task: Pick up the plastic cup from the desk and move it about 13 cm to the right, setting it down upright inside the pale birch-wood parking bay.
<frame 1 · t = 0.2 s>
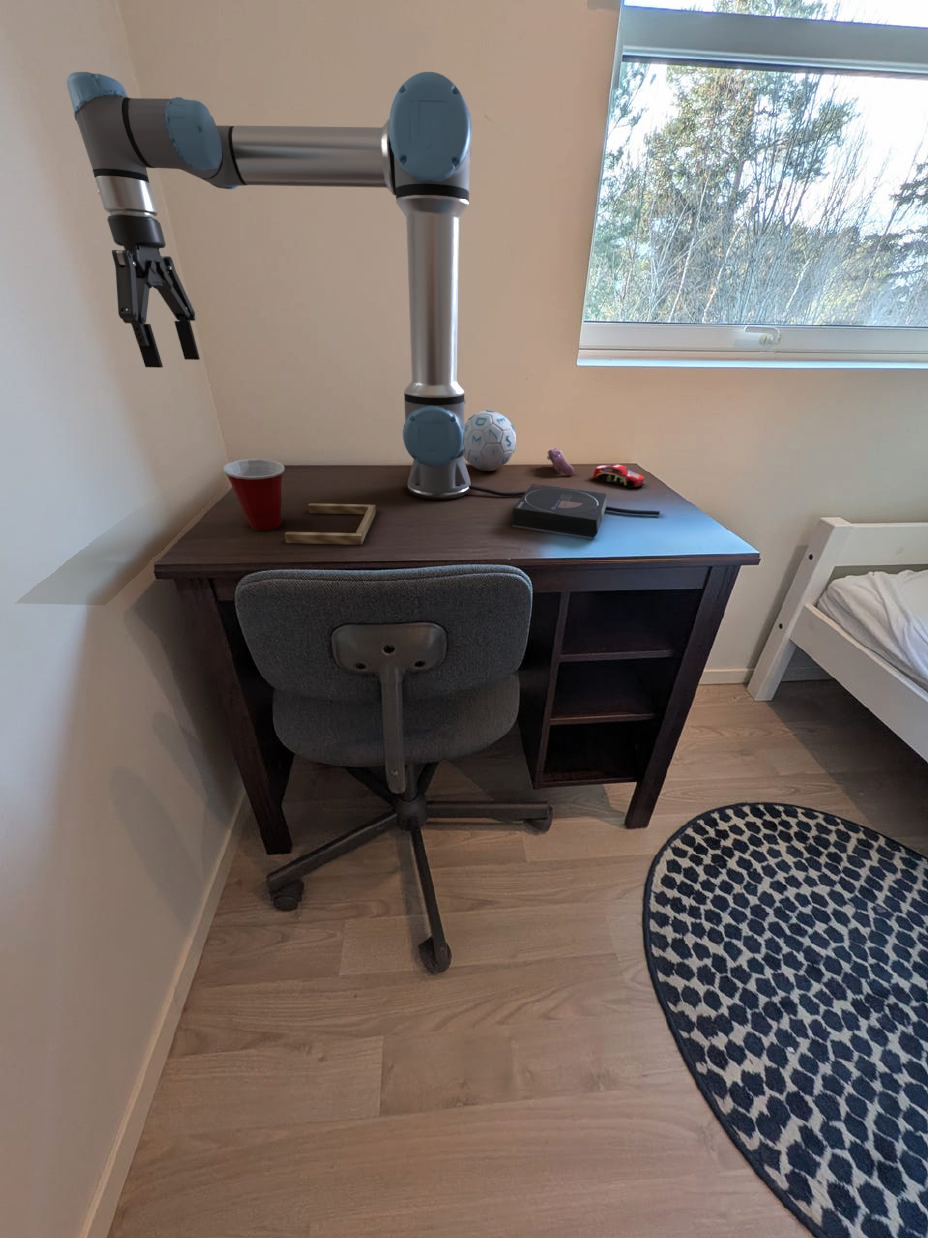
hand: (174, 363, 90), 28 cm above the table, tool pointing down, fingers open, 13 cm apart
race car: (617, 483, 124), on the table
puzzle ball: (486, 470, 131), on the table
portable cd player: (560, 519, 102), on the table
purple animal figurine: (558, 471, 131), on the table
plastic cup: (267, 526, 96), on the table
parking bay: (331, 526, 96), on the table
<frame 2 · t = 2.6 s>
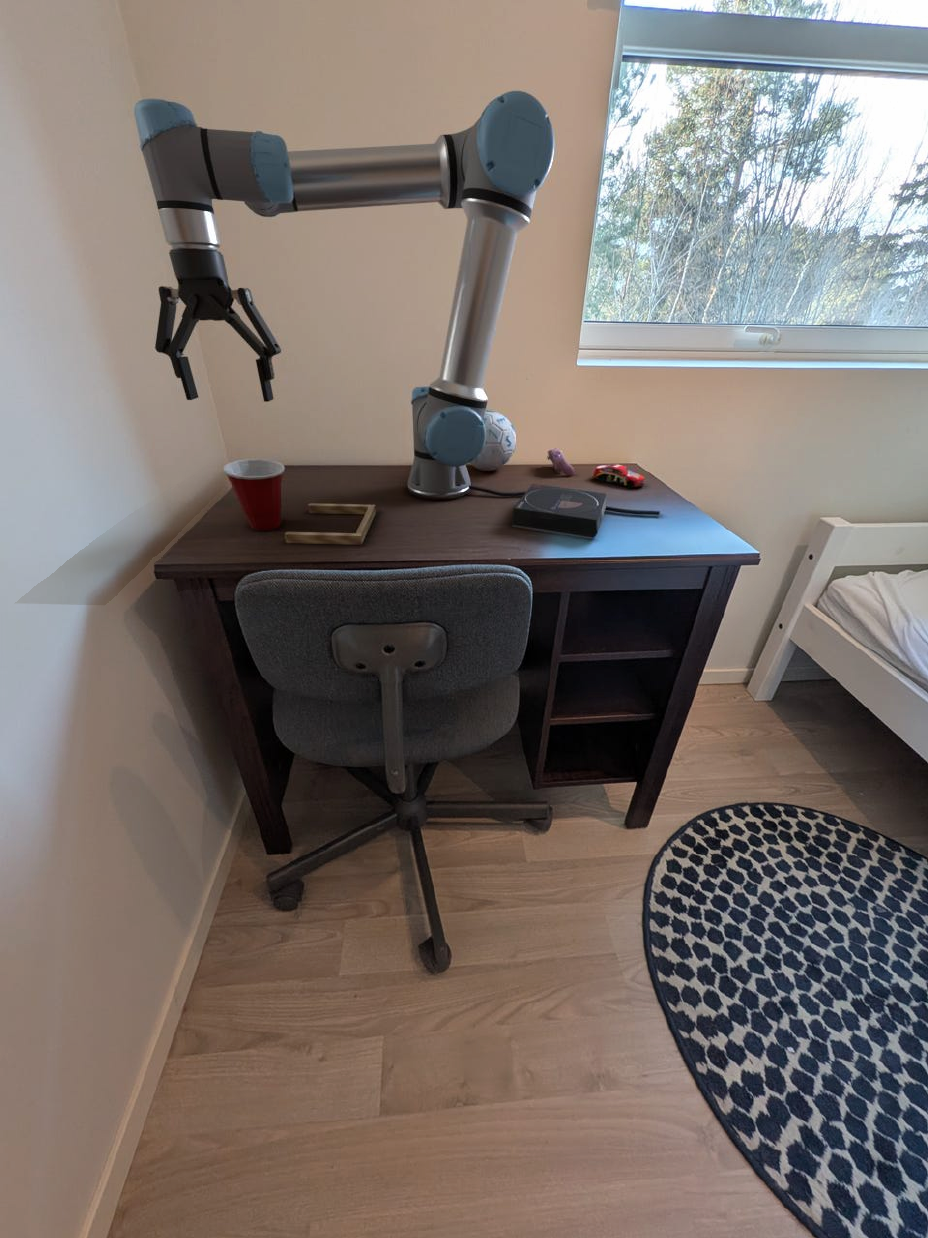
hand: (230, 399, 85), 23 cm above the table, tool pointing down, fingers open, 13 cm apart
nothing on the table moved.
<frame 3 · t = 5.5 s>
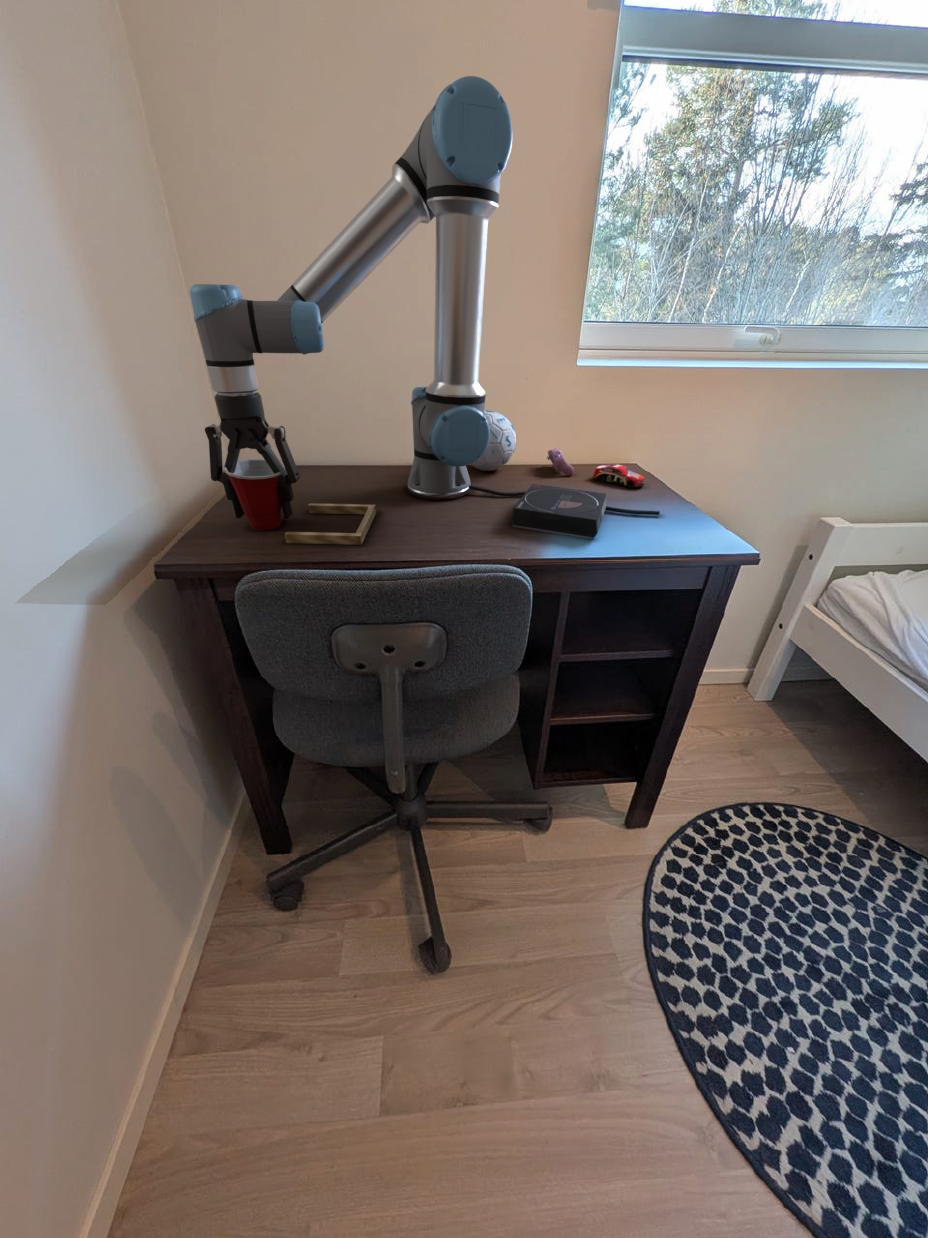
hand: (264, 515, 95), 2 cm above the table, tool pointing down, fingers closed on plastic cup, 9 cm apart
plastic cup: (267, 526, 96), on the table, touching gripper
everything else where it was.
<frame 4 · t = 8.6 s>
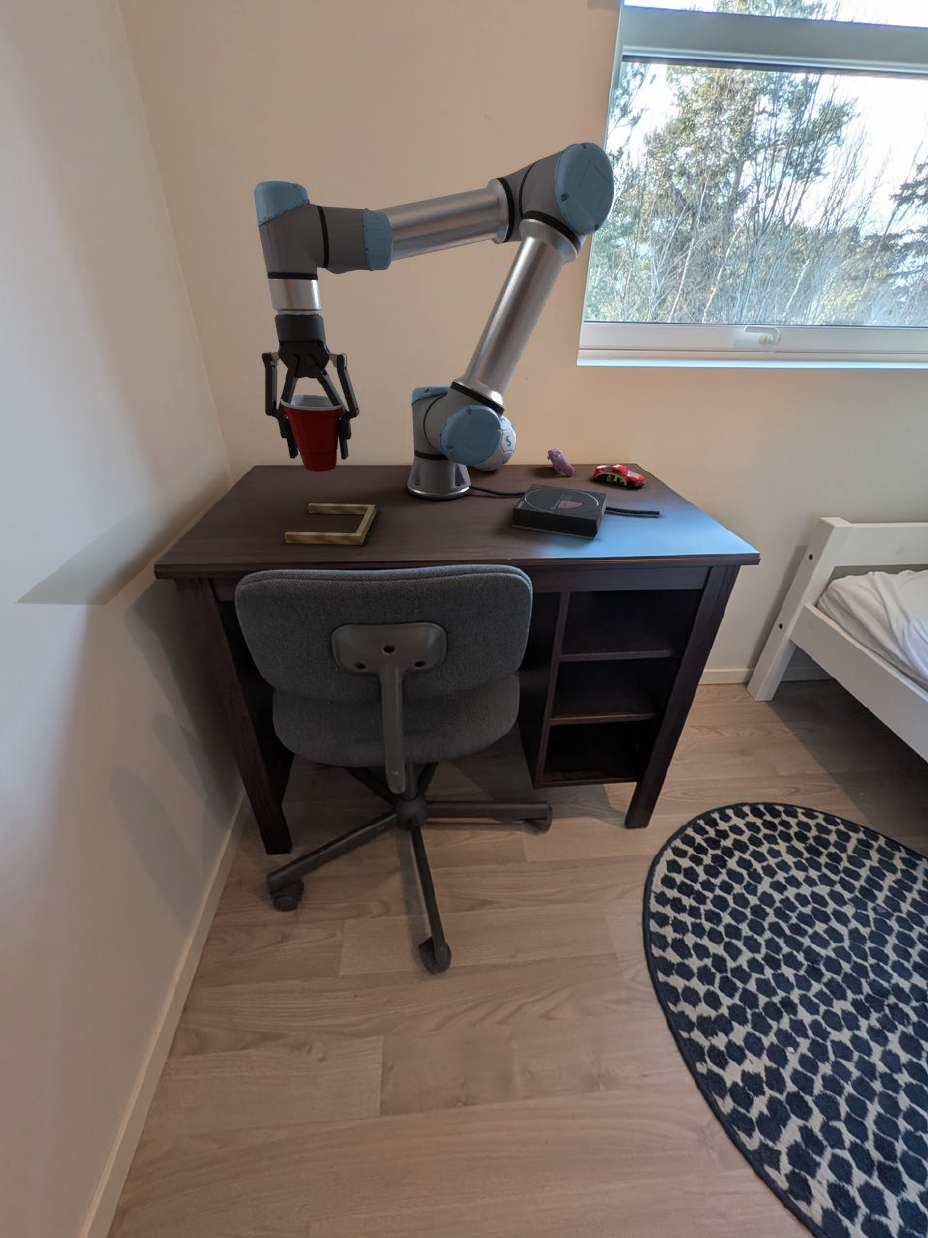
hand: (319, 456, 89), 14 cm above the table, tool pointing down, fingers closed on plastic cup, 9 cm apart
plastic cup: (322, 468, 90), point 12 cm above the table, touching gripper
everything else where it was.
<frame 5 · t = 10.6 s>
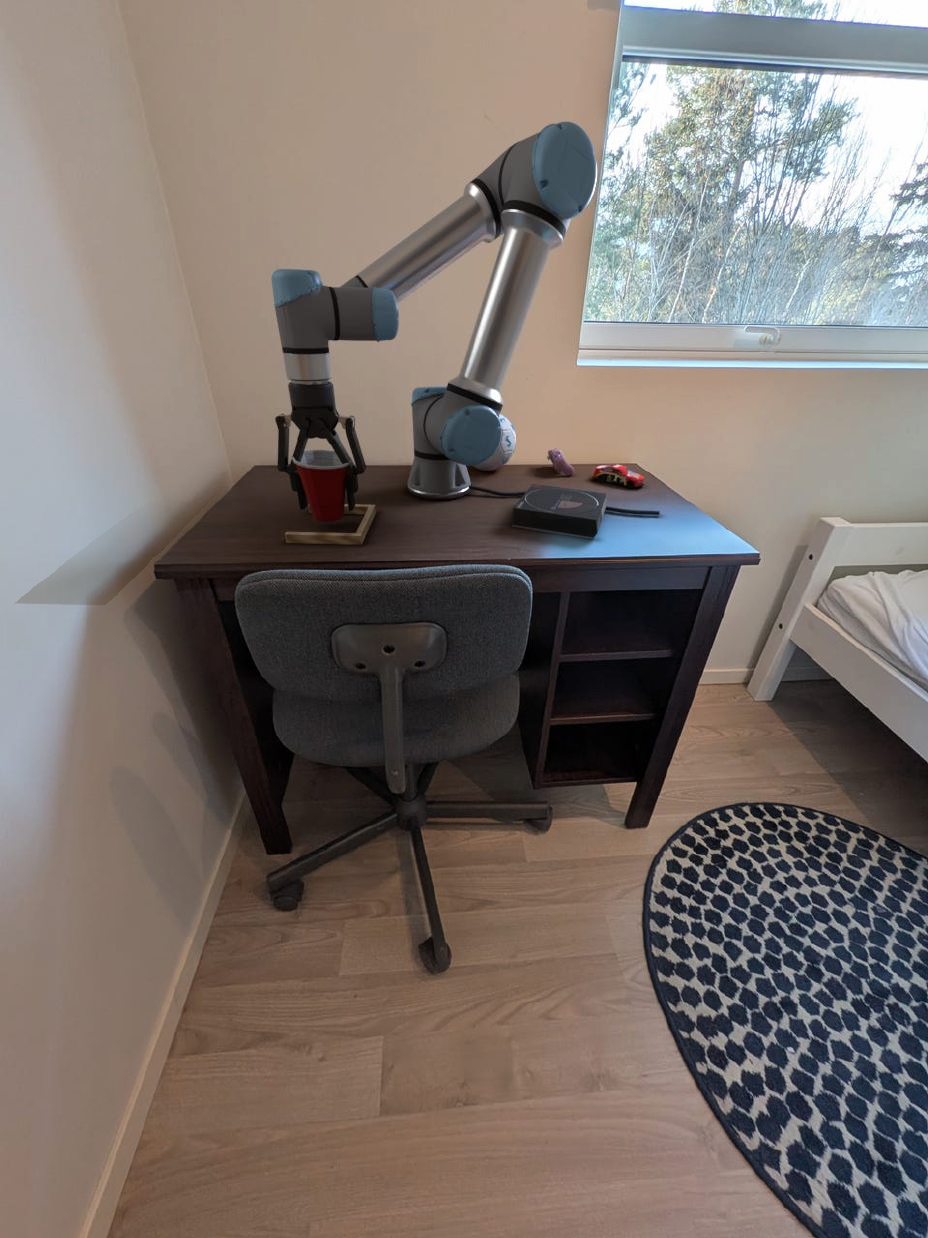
hand: (328, 507, 94), 4 cm above the table, tool pointing down, fingers closed on plastic cup, 9 cm apart
plastic cup: (330, 517, 95), point 2 cm above the table, touching gripper
everything else where it was.
when the fingers open (2 cm above the table, at t = 11.7 s): plastic cup stays where it is, on the table.
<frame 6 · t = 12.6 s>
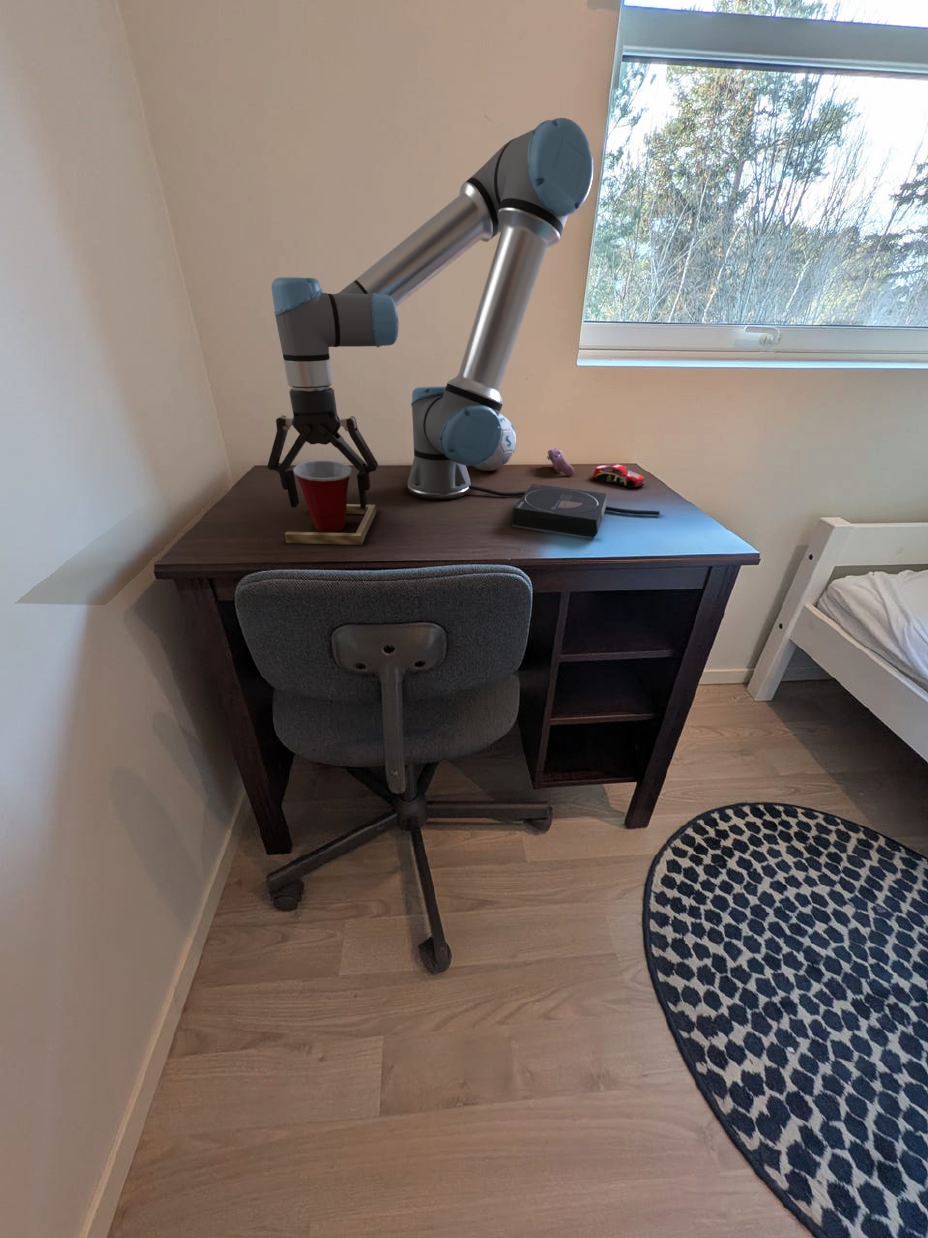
hand: (329, 505, 94), 4 cm above the table, tool pointing down, fingers open, 13 cm apart
plastic cup: (331, 527, 96), on the table
everything else where it was.
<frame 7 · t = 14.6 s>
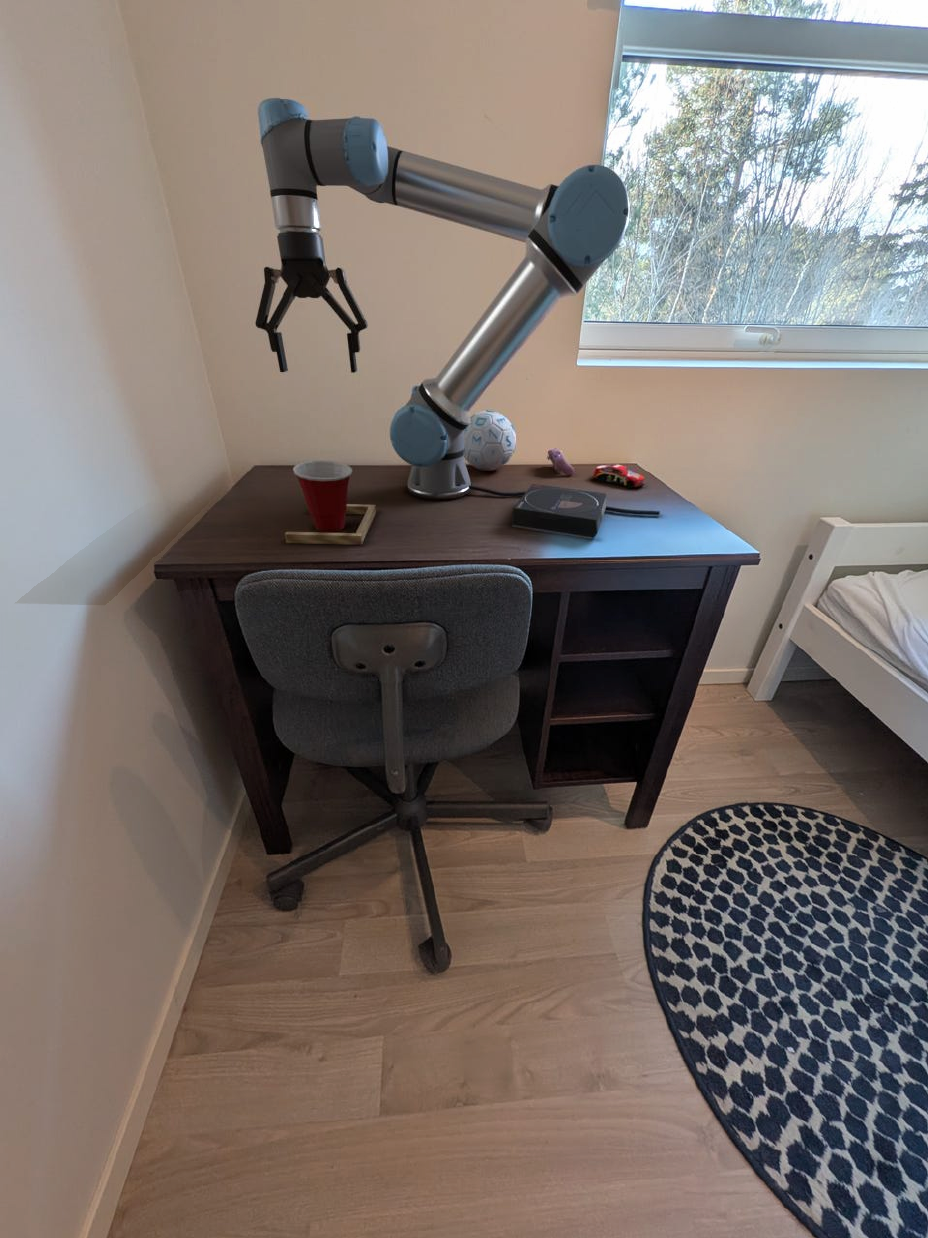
hand: (319, 371, 93), 26 cm above the table, tool pointing down, fingers open, 13 cm apart
nothing on the table moved.
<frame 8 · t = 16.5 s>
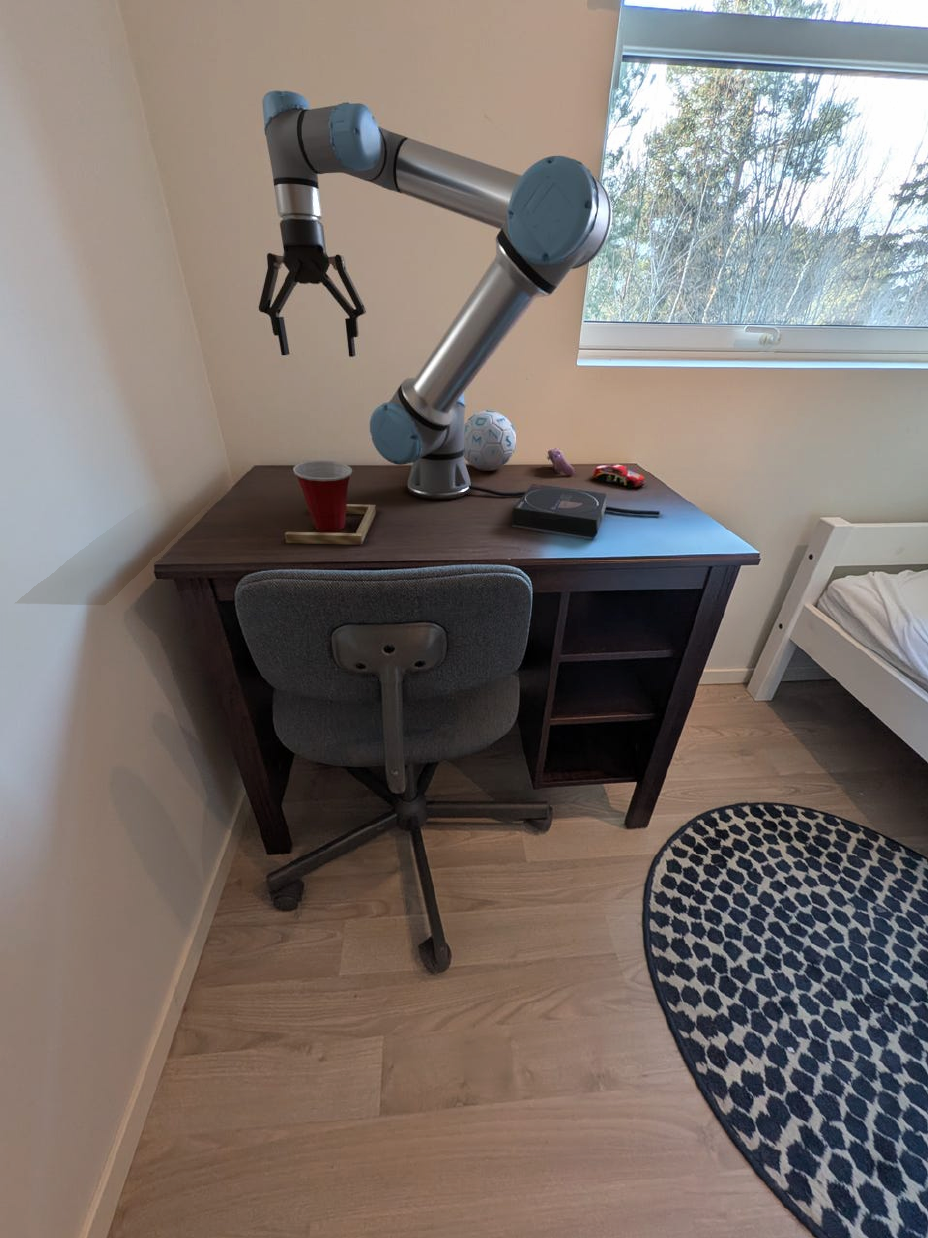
hand: (319, 355, 97), 29 cm above the table, tool pointing down, fingers open, 13 cm apart
nothing on the table moved.
at the end: plastic cup 0.3 cm off-centre on the parking bay, point 0.0 cm above the parking bay's base; plastic cup tilted 0°; the gripper is holding nothing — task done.
